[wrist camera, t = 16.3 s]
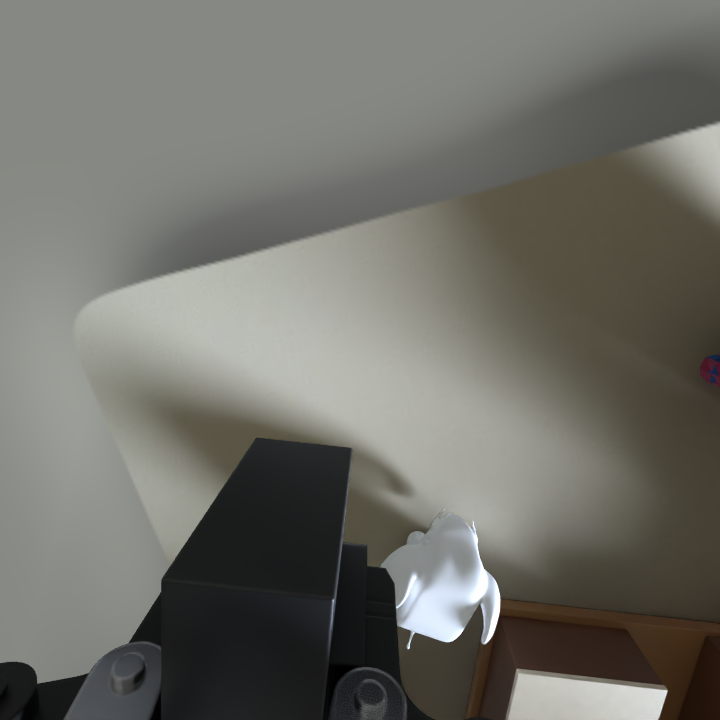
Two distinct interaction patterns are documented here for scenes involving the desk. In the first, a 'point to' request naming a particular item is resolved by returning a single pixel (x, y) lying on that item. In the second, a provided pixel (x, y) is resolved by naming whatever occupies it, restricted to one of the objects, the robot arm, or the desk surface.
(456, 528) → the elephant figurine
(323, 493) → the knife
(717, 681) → the cake slice
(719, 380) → the cup
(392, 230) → the desk surface
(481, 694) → the wooden board with blocks
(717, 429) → the desk surface
